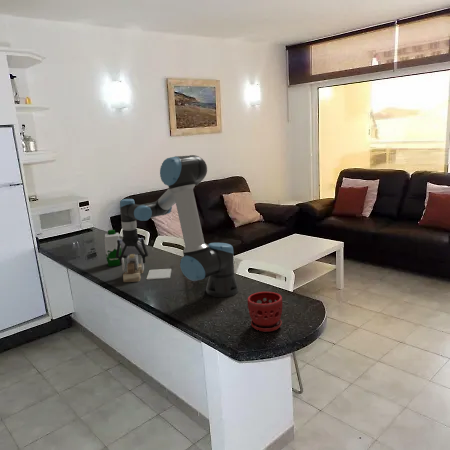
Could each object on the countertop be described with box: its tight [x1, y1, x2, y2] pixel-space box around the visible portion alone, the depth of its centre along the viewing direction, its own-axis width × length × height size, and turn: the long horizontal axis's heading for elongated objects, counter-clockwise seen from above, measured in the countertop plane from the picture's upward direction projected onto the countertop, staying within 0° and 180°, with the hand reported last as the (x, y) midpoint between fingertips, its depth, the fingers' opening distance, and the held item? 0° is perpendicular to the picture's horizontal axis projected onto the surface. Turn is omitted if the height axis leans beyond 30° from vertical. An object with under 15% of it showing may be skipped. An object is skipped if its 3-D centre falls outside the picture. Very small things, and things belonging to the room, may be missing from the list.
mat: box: [146, 268, 172, 281], centre depth 218 cm, size 14×12×1 cm
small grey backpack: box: [121, 241, 143, 257], centre depth 261 cm, size 15×8×20 cm
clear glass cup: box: [126, 254, 140, 271], centre depth 216 cm, size 6×5×8 cm
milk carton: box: [103, 229, 121, 267], centre depth 237 cm, size 9×9×20 cm
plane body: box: [122, 263, 145, 283], centre depth 216 cm, size 17×8×9 cm, turn 4°
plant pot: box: [247, 291, 283, 333], centre depth 154 cm, size 13×13×12 cm
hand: (133, 269), depth 217 cm, fingers open, 9 cm apart
